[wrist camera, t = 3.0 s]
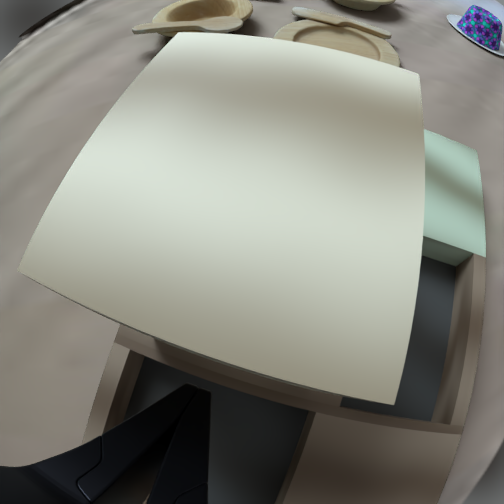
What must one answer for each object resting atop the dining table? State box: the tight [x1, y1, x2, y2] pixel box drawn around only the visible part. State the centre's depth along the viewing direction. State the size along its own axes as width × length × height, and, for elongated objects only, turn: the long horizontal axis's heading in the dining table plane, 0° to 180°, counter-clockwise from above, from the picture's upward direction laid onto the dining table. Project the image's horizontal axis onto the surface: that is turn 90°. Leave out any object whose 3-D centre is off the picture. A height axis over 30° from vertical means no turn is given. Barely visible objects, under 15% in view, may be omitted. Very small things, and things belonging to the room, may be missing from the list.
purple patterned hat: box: [447, 5, 504, 56], centre depth 30 cm, size 12×12×5 cm
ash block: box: [17, 32, 425, 405], centre depth 11 cm, size 9×8×10 cm
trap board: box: [82, 129, 486, 504], centre depth 15 cm, size 28×19×6 cm
